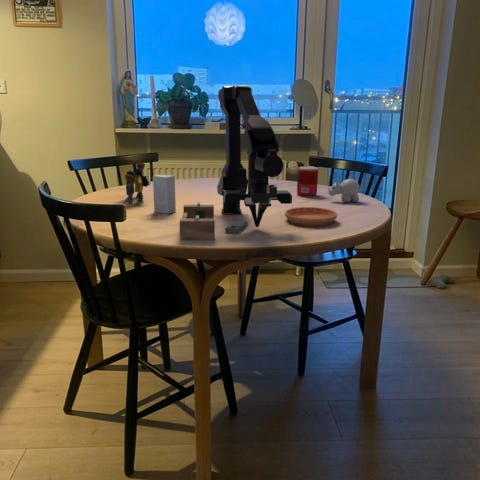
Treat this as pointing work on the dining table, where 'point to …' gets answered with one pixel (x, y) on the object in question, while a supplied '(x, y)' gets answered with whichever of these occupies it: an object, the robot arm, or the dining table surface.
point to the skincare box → (164, 194)
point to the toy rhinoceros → (346, 190)
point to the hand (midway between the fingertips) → (256, 226)
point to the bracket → (236, 226)
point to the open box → (197, 222)
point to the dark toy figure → (136, 184)
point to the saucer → (311, 216)
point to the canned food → (307, 181)
